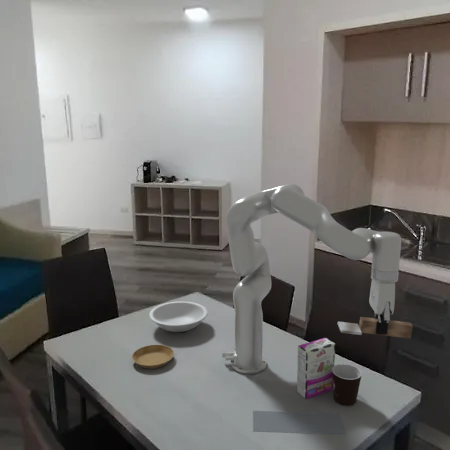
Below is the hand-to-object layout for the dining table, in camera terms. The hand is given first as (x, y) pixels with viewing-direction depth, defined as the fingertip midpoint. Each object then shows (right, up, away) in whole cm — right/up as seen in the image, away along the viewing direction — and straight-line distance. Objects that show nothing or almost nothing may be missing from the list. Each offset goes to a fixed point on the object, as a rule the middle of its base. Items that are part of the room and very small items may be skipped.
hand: (380, 331), depth 136 cm
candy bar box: (-19, -21, +6) cm, 28 cm away
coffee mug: (-10, -21, +2) cm, 24 cm away
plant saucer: (-73, -17, +25) cm, 78 cm away
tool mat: (-27, -24, -9) cm, 37 cm away
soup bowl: (-66, -11, +51) cm, 84 cm away
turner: (-2, 0, 0) cm, 2 cm away
